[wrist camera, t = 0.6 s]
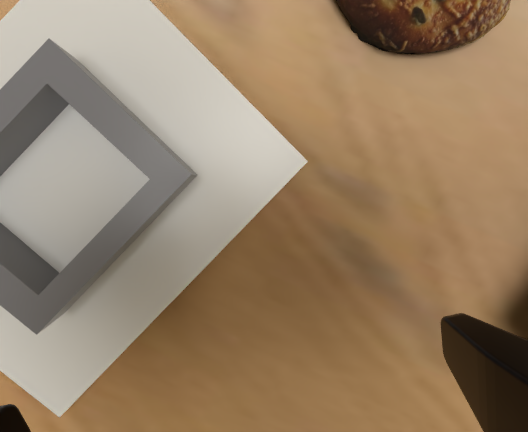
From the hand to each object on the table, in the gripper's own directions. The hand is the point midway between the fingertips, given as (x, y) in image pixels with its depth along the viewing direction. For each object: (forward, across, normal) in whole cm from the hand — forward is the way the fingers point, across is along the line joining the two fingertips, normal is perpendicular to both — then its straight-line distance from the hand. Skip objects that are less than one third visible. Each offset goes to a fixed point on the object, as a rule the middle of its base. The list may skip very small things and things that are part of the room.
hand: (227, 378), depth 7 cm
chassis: (+14, +9, -3) cm, 17 cm away
